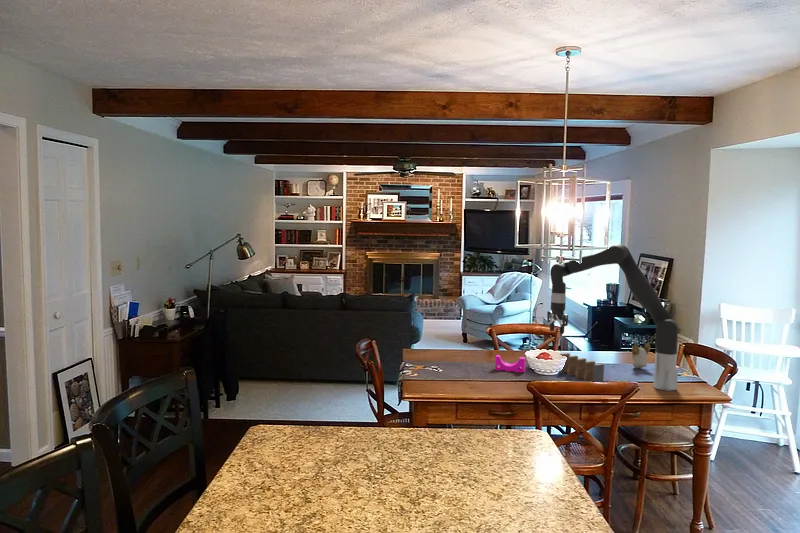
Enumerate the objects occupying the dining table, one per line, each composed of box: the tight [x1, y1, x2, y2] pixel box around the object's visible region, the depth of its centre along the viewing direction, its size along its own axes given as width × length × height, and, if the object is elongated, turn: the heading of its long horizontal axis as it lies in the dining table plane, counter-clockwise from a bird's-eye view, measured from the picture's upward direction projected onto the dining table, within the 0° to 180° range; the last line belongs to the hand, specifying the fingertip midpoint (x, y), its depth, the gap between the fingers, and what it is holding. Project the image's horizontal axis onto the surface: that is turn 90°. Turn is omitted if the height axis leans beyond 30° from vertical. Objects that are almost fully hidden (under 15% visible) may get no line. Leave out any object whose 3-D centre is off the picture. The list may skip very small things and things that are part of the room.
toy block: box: [494, 354, 526, 373], centre depth 299 cm, size 15×6×8 cm, turn 72°
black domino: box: [593, 363, 605, 383], centre depth 274 cm, size 2×5×10 cm, turn 115°
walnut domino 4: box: [583, 360, 596, 382], centre depth 279 cm, size 2×5×10 cm, turn 114°
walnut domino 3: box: [575, 357, 587, 380], centre depth 285 cm, size 2×5×10 cm, turn 115°
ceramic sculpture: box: [631, 341, 651, 369], centre depth 307 cm, size 11×9×15 cm
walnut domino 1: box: [559, 352, 571, 374], centre depth 296 cm, size 2×5×10 cm, turn 115°
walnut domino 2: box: [566, 355, 579, 377], centre depth 290 cm, size 2×5×10 cm, turn 115°
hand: (556, 332), depth 301 cm, fingers open, 7 cm apart
